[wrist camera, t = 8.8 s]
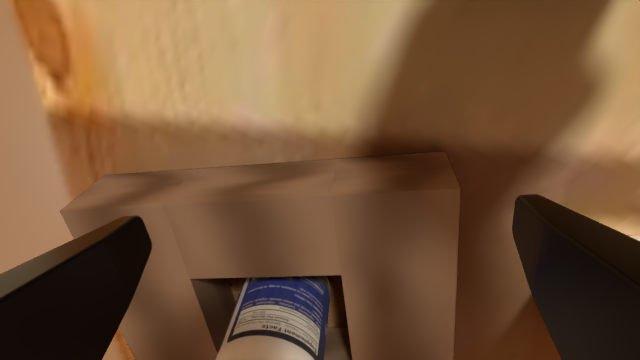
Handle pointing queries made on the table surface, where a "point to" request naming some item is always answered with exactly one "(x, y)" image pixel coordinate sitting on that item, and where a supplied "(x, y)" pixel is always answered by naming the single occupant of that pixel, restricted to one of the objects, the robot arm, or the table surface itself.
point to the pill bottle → (278, 319)
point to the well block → (291, 249)
